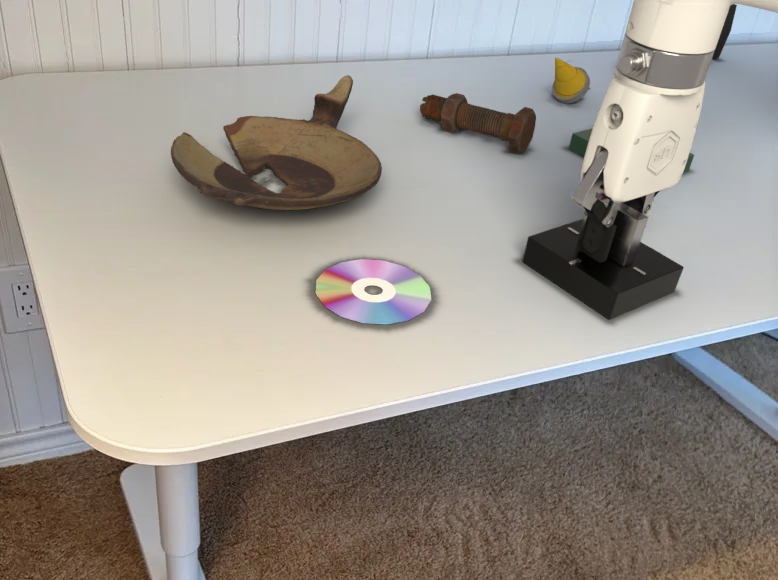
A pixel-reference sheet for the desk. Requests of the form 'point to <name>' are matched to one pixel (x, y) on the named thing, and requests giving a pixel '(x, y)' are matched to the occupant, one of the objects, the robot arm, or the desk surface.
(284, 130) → the broken bowl
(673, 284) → the black lever switch box
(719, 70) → the desk surface
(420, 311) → the cd
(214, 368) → the desk surface
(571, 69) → the yellow spiral cone
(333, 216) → the desk surface
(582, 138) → the release box
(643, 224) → the gray slab
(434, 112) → the bolt
